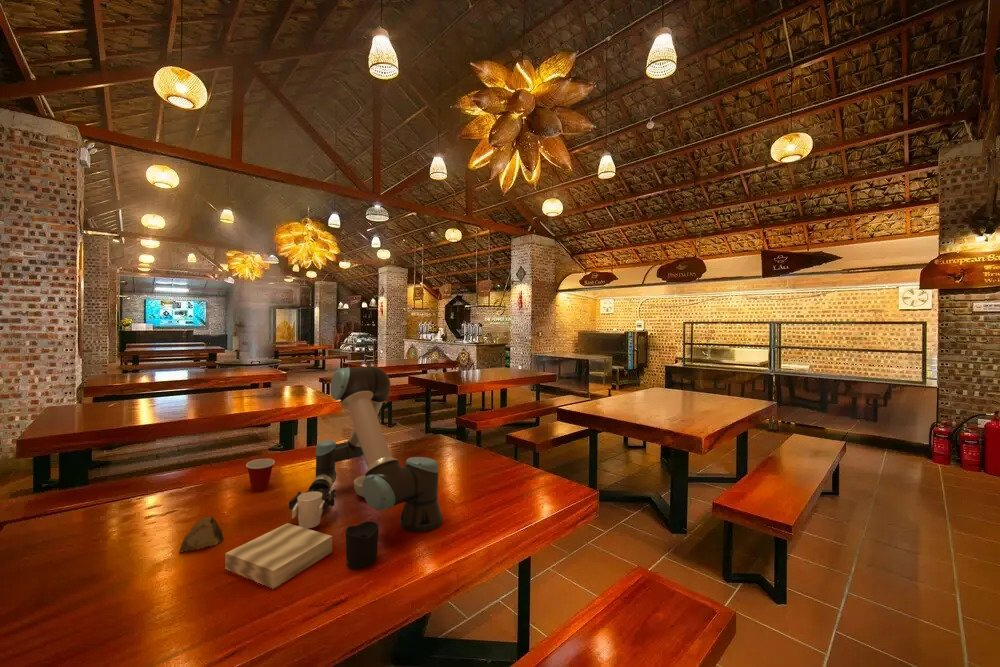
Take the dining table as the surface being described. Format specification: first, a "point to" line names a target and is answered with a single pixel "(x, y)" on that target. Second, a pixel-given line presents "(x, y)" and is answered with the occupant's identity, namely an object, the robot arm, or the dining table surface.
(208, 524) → the rock
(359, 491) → the cereal bowl
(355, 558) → the pen holder
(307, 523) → the white cup
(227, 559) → the birch plinth
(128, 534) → the dining table surface
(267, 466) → the plastic cup
